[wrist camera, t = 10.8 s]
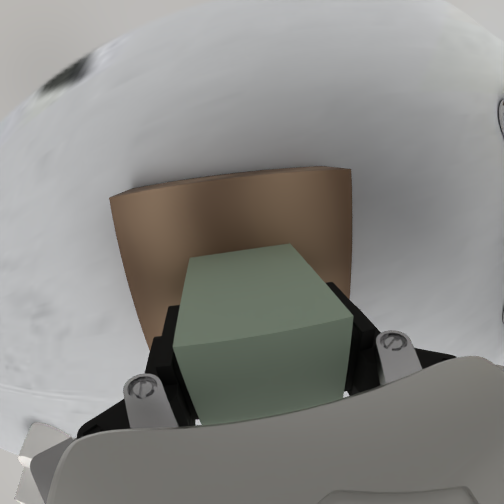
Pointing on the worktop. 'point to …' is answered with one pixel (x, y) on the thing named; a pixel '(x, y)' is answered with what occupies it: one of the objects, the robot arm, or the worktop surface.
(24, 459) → the base with upright slab
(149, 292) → the walnut base
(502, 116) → the supplement bottle
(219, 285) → the sage block
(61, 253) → the worktop surface
